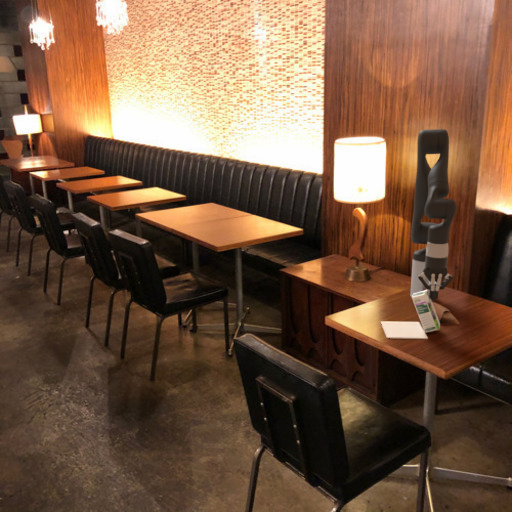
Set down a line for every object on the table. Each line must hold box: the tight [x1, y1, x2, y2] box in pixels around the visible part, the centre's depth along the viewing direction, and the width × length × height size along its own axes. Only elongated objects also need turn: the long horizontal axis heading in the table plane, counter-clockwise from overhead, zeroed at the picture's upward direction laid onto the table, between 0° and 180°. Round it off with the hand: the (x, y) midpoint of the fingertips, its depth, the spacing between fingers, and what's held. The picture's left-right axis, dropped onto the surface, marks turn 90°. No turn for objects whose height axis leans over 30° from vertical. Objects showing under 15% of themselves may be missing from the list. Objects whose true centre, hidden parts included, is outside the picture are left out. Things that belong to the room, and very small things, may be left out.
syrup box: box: [411, 290, 441, 334], centre depth 200 cm, size 6×6×14 cm
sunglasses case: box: [432, 301, 460, 326], centre depth 216 cm, size 18×7×7 cm
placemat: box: [380, 320, 429, 340], centre depth 202 cm, size 15×14×1 cm
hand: (433, 299), depth 198 cm, fingers closed
